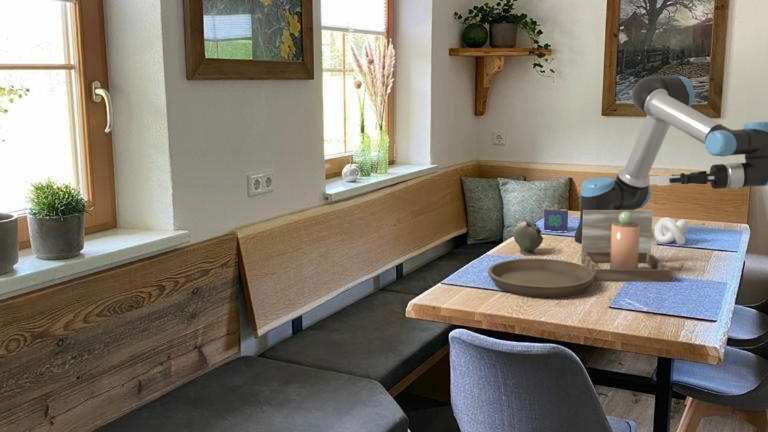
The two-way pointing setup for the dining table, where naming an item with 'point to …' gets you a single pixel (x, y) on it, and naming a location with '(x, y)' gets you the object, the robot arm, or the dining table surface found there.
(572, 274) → the plant saucer
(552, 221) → the purple square panel
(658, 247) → the dining table surface
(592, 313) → the dining table surface
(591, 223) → the cold frame
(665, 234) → the white knot sculpture
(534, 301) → the dining table surface
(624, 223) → the pink canister
